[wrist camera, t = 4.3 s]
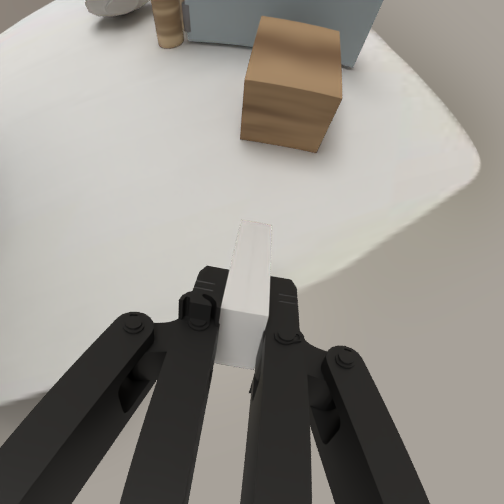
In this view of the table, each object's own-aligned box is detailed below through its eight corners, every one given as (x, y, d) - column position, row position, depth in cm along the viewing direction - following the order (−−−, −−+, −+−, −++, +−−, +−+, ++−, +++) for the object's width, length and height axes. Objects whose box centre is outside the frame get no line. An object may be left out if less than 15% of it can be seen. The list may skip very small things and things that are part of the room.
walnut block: (315, 153, 28) (342, 98, 20) (240, 139, 28) (244, 79, 20) (319, 85, 30) (339, 31, 22) (254, 73, 30) (261, 15, 22)
